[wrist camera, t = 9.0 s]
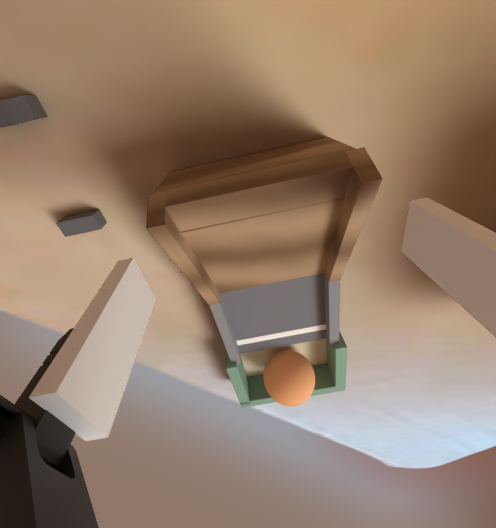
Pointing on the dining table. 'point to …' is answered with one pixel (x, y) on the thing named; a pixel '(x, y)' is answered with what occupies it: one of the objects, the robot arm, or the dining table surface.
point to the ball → (289, 378)
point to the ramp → (264, 215)
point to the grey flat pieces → (30, 110)
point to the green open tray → (317, 352)
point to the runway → (278, 314)
